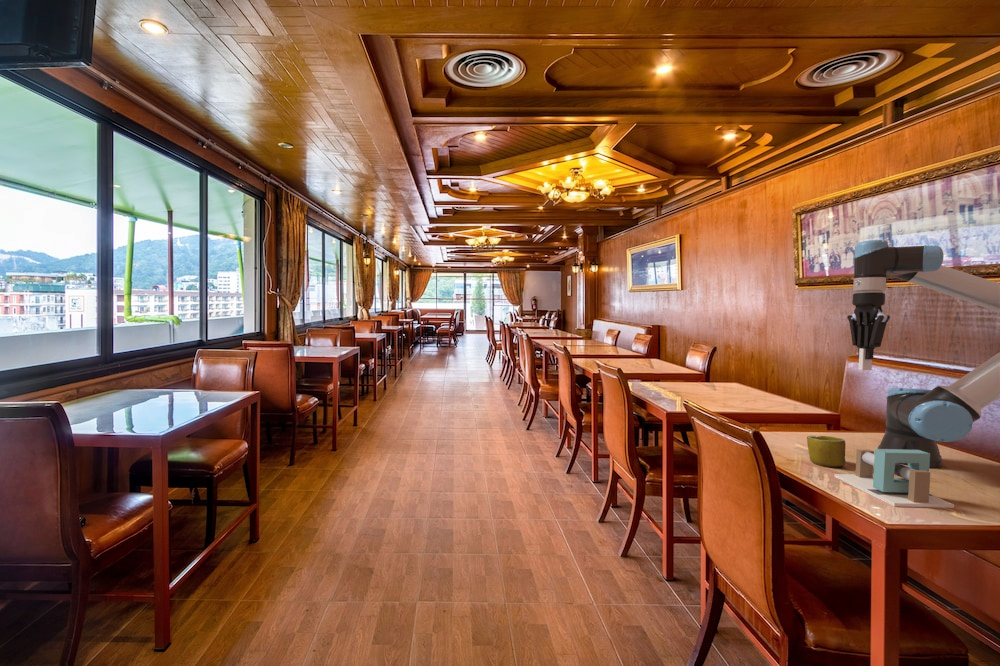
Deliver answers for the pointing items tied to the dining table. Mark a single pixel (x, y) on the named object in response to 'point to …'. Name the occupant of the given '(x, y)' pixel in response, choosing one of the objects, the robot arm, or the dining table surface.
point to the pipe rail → (913, 498)
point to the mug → (826, 450)
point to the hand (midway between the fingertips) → (864, 369)
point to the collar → (886, 466)
